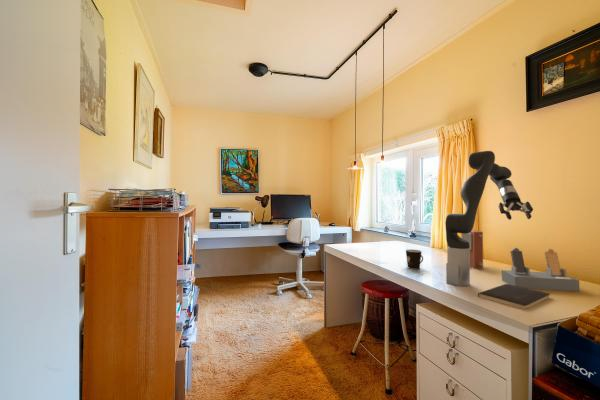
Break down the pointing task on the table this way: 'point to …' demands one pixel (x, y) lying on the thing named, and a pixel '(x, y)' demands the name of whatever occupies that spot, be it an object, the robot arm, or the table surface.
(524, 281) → the lever console
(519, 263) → the black lever
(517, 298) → the hardcover book
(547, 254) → the copper lever
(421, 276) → the table surface
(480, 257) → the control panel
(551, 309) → the table surface
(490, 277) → the table surface
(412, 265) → the coffee mug
